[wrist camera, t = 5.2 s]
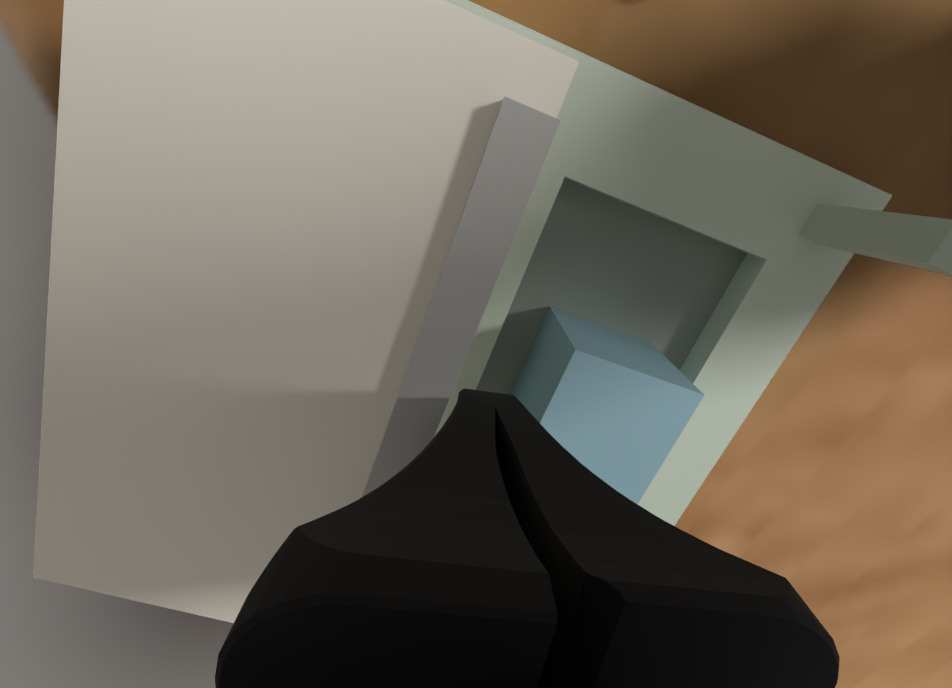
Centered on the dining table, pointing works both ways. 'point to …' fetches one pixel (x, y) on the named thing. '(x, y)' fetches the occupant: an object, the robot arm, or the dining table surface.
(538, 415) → the block
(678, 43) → the dining table surface
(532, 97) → the cover
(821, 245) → the puzzle board
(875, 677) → the dining table surface
